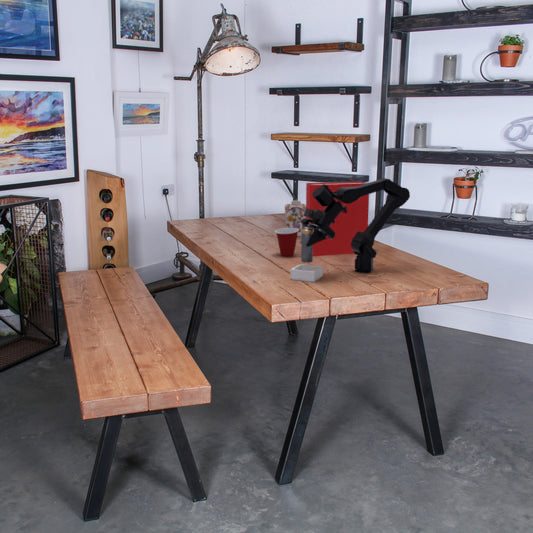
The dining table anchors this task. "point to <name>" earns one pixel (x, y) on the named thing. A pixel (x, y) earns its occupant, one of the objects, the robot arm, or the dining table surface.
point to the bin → (306, 273)
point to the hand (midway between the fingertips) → (303, 244)
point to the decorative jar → (295, 215)
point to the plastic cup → (287, 241)
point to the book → (340, 220)
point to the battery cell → (306, 251)
